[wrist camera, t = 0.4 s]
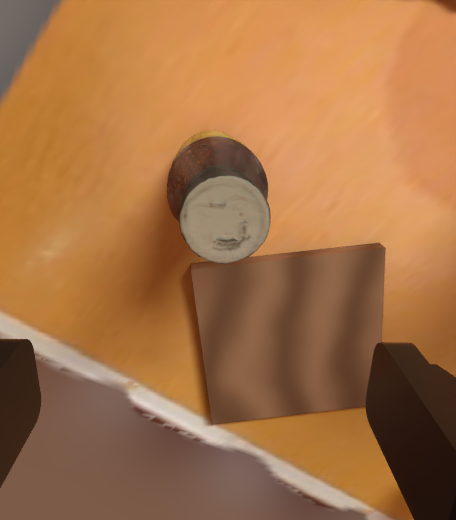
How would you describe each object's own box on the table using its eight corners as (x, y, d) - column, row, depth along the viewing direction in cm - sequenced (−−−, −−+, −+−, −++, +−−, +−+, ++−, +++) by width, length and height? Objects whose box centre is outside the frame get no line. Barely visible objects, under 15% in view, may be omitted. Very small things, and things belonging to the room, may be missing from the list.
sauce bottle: (226, 212, 39) (248, 320, 20) (163, 181, 37) (124, 266, 19) (261, 146, 37) (321, 199, 18) (196, 111, 35) (189, 128, 17)
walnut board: (379, 242, 40) (385, 248, 39) (373, 395, 47) (378, 405, 46) (191, 263, 40) (190, 269, 39) (212, 414, 47) (212, 424, 45)
